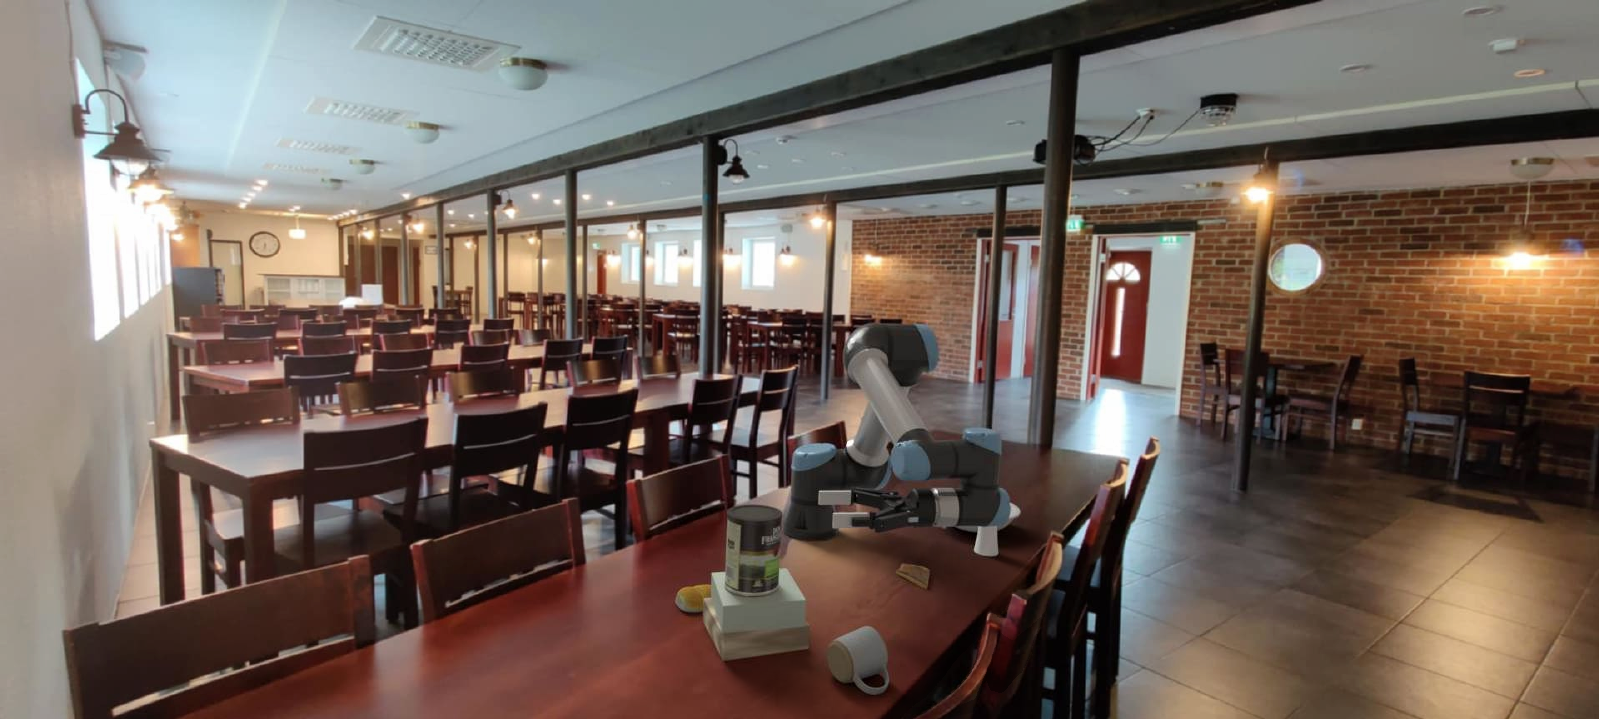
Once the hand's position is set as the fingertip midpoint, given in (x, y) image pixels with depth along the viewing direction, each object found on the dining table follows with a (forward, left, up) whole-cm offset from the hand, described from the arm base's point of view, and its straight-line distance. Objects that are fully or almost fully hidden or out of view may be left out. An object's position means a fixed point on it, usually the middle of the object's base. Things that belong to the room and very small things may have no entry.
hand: (825, 508), depth 139 cm
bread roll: (-15, -21, -24) cm, 35 cm away
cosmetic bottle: (-26, +56, -23) cm, 66 cm away
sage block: (0, -13, -19) cm, 23 cm away
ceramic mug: (+20, -1, -24) cm, 31 cm away
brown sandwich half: (-16, +31, -24) cm, 42 cm away
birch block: (0, -14, -24) cm, 27 cm away
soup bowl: (-43, +64, -24) cm, 81 cm away
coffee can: (0, -14, -14) cm, 20 cm away
